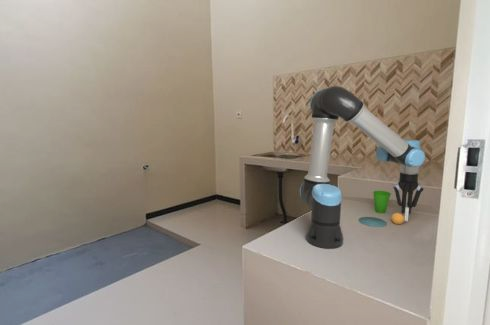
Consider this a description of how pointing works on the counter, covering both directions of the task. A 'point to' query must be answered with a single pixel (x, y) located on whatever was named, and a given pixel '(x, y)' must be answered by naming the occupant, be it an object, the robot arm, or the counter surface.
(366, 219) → the teal ellipsoid
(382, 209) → the green tapered cylinder
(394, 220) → the ball
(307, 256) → the counter surface
